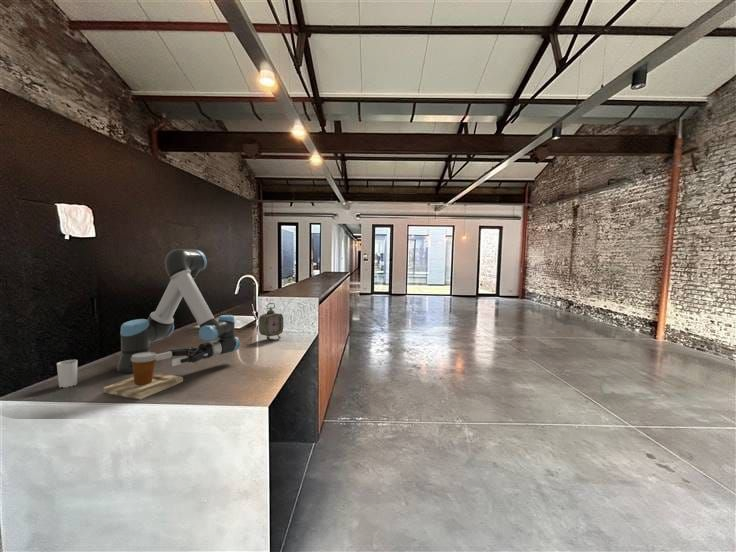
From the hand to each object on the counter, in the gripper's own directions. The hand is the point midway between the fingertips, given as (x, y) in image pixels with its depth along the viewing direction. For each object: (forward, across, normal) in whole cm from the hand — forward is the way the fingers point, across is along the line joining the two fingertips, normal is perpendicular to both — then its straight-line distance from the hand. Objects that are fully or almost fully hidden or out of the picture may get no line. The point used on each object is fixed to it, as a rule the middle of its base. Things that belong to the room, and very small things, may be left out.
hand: (164, 360), depth 150 cm
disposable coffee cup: (+7, +3, -8) cm, 11 cm away
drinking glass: (+25, +30, -10) cm, 40 cm away
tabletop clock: (-78, +22, -10) cm, 82 cm away
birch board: (+8, 0, -10) cm, 12 cm away
